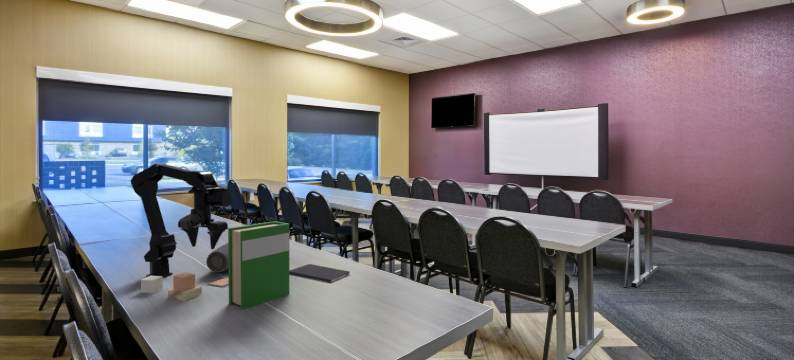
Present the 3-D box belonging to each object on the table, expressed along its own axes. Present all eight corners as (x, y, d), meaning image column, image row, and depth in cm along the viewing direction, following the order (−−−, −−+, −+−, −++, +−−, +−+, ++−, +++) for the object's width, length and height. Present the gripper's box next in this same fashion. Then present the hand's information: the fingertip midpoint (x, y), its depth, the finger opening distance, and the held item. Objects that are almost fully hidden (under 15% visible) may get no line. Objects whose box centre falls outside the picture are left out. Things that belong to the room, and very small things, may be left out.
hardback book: (242, 309, 127) (242, 231, 125) (228, 304, 131) (228, 228, 130) (289, 294, 141) (289, 223, 139) (275, 289, 145) (275, 221, 144)
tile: (207, 284, 149) (207, 283, 149) (222, 279, 156) (222, 278, 156) (222, 287, 147) (222, 286, 147) (236, 281, 153) (236, 280, 153)
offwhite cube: (141, 292, 140) (141, 279, 140) (150, 288, 145) (150, 275, 144) (153, 293, 140) (153, 280, 139) (162, 289, 144) (162, 276, 144)
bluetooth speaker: (229, 276, 160) (228, 250, 160) (205, 275, 161) (204, 249, 160) (251, 260, 183) (250, 238, 182) (229, 260, 183) (229, 237, 183)
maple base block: (167, 299, 136) (167, 290, 135) (185, 292, 142) (185, 284, 142) (185, 302, 133) (185, 292, 133) (201, 295, 140) (201, 286, 140)
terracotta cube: (173, 289, 136) (173, 275, 136) (185, 285, 140) (185, 272, 140) (182, 291, 134) (182, 277, 134) (195, 287, 139) (194, 274, 138)
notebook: (287, 274, 165) (330, 284, 154) (287, 271, 165) (330, 279, 154) (309, 267, 176) (350, 275, 166) (309, 263, 176) (351, 271, 165)
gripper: (164, 206, 149) (165, 249, 150) (204, 210, 142) (204, 255, 143) (190, 203, 159) (191, 243, 160) (228, 206, 152) (229, 248, 153)
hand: (203, 247), depth 154 cm, fingers open, 9 cm apart
